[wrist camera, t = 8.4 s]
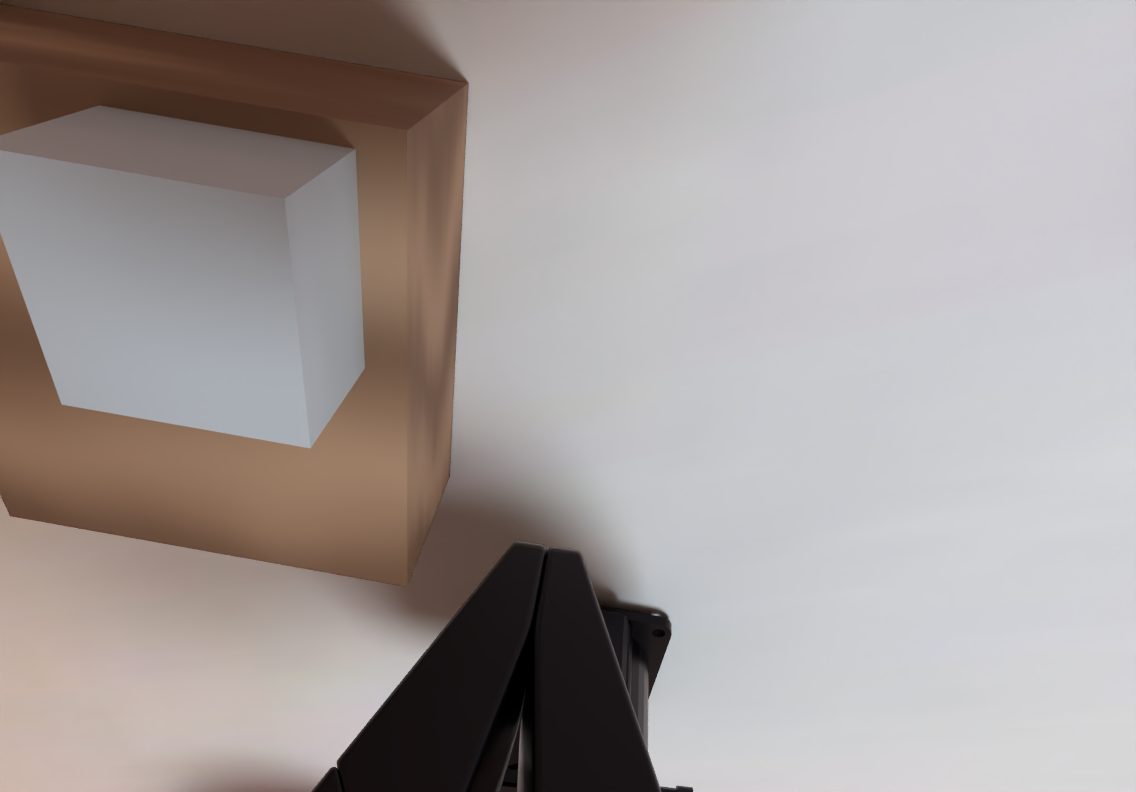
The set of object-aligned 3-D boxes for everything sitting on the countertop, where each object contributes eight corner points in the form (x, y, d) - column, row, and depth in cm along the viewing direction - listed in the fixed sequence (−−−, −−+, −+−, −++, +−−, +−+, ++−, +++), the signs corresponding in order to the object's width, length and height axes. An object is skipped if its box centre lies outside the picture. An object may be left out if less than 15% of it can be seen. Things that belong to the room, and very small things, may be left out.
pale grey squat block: (364, 368, 16) (310, 448, 13) (154, 331, 16) (61, 404, 13) (355, 148, 13) (283, 198, 10) (98, 105, 13) (-32, 145, 11)
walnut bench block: (449, 476, 24) (407, 587, 20) (119, 417, 24) (10, 516, 20) (468, 83, 17) (406, 130, 13) (-6, 2, 17) (-219, 24, 13)
